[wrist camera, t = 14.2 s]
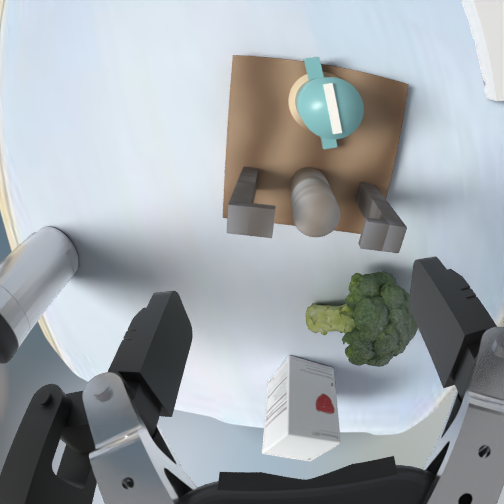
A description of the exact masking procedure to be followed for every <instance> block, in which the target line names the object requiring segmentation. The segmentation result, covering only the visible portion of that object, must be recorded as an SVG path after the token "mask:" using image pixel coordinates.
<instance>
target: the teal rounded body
mask: <svg viewBox="0 0 504 504" xmlns="http://www.w3.org/2000/svg"><path fill="white" fill-rule="evenodd" d="M304 64H305V68H306V72H307V76H308V80H309V81H307V82H305V83H304V84H303V85H301V87H300V88H299V89H298V91H297V93H296V97H295V106H296V110H297V112H298V114H299V115H300V117H301V118H302V120H303V122H304V123H305V125H306V126H307V127H308V128H309V129H310V130H311V131H312V132H313V133H314V134H316V135H318V136H320V138H321V143H322V148H323V149H330V148H336V147H337V142H336V139H341V138H344V137H347V136H349V135H350V134H352V133H353V132H354V131H355V130H356V129H357V128H358V127H359V125H360V123H361V121H362V118H363V114H364V106H363V101H362V98H361V96H360V94H359V92H358V91H357V90H356V89H355V87H354V86H352V85H351V84H350V83H348V82H347V81H345V80H343V79H340V78H335V77H325V78H324V76H323V71H322V67H321V63H320V59H319V57H313V58H307V59H304Z"/></svg>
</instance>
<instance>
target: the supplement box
mask: <svg viewBox="0 0 504 504" xmlns="http://www.w3.org/2000/svg"><path fill="white" fill-rule="evenodd" d="M339 443H340V430H339V419H338V408H337V397H336V387H335V377H334V368H332V367H329V366H325V365H322V364H318V363H314V362H311V361H308V360H304V359H301V358H297V357H294V356H291V355H289V356H288V357H287V358H286V360H285V361H284V362H283V363H282V365H281V366H280V367H279V368H278V370H277V371H276V372H275V373H274V374H273V376H272V377H271V378H270V379H269V381H268V387H267V400H266V413H265V425H264V439H263V447H262V453H263V454H268V455H273V456H279V457H284V458H289V459H298V460H305V461H312V460H313V459H315V458H317V457H318V456H320V455H322V454H323V453H325V452H326V451H328V450H330V449H332V448H334V447H335V446H337V445H338V444H339Z"/></svg>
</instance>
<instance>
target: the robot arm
mask: <svg viewBox="0 0 504 504" xmlns="http://www.w3.org/2000/svg"><path fill="white" fill-rule="evenodd" d="M78 266H79V260H78V255H77V252H76V249H75V247H74V245H73V244H72V242H71V241H70V239H69V238H68V237H67V236H66V235H65V234H64V233H62V232H61V231H59V230H58V229H56V228H53V227H44V228H42V229H40V230H39V231H38V232H37V233H33V234H31V235H30V236H29V237H28V238H27V239H26V240H24V241H23V242H22V243H21V244H20V245H19V246H18V247H17V248H15V249H14V250H13V251H12V252H11V253H10V254H9V255H8V256H7V257H6V258H5V259H4V260H3V261H1V263H0V363H7V362H8V361H10V360H11V358H12V357H13V355H14V354H15V352H16V351H17V349H18V348H19V346H20V345H21V344H22V342H23V341H24V339H25V338H26V336H27V335H28V334H29V332H30V331H31V329H32V328H33V327H34V325H35V324H36V322H37V321H38V320H39V318H40V317H41V316H42V314H43V313H44V312H45V310H46V309H47V308H48V306H49V305H50V304H51V303H52V301H53V300H54V299H55V297H56V296H57V295H58V294H59V292H60V291H61V290H62V289H63V287H64V286H65V285H66V284H67V283H68V281H69V280H70V279H71V278H72V276H73V275H74V274H75V273H76V271H77V269H78ZM409 302H410V309H411V313H412V315H413V317H414V320H415V322H416V324H417V326H418V328H419V330H420V333H421V335H422V337H423V339H424V342H425V344H426V346H427V349H428V351H429V353H430V356H431V358H432V360H433V363H434V365H435V368H436V370H437V373H438V375H439V378H440V380H441V383H442V385H443V388H446V387H449V386H452V385H455V386H456V388H457V390H458V391H457V393H456V395H455V397H454V400H453V403H452V406H451V409H450V412H449V414H448V417H447V419H446V422H445V425H444V427H443V429H442V432H441V434H440V436H439V439H438V441H437V443H436V445H435V447H434V449H433V451H432V453H431V454H430V456H429V458H428V459H427V462H426V463H425V465H424V467H423V469H420V468H415V467H412V466H404V465H395V460H394V456H392V457H387V458H382V459H378V460H373V461H368V462H363V463H356V464H351V465H349V466H346V467H344V468H341V469H339V470H336V471H333V472H330V473H327V474H324V475H322V476H318V477H316V478H312V479H308V480H302V479H295V478H289V477H283V476H278V475H272V474H267V473H262V472H259V473H257V472H256V473H255V472H254V473H253V472H252V473H244V472H239V473H238V472H220V475H219V481H217V482H212V483H209V484H205V485H203V486H201V487H197V486H196V485H195V483H194V482H193V481H192V479H191V478H190V477H189V476H188V475H187V473H186V472H185V471H184V469H183V468H182V466H181V465H180V463H179V461H178V460H177V458H176V456H175V454H174V453H173V451H172V449H171V447H170V446H169V444H168V442H167V440H166V438H165V436H164V435H163V433H162V431H161V429H160V427H159V426H158V424H157V423H158V419H159V416H165V417H172V414H173V410H174V407H175V403H176V399H177V395H178V391H179V387H180V383H181V379H182V376H183V372H184V368H185V364H186V361H187V357H188V353H189V350H190V346H191V342H192V327H191V323H190V321H189V318H188V316H187V314H186V311H185V309H184V306H183V304H182V301H181V299H180V296H179V294H178V293H177V292H176V291H169V292H159V293H154V294H153V296H152V298H151V300H150V302H149V304H148V306H147V308H143V309H142V310H141V311H140V312H139V313H138V314H137V315H136V316H135V317H134V318H133V320H132V322H131V324H130V326H129V328H128V331H127V332H126V334H125V336H124V340H122V342H121V344H120V346H119V348H118V351H117V353H116V355H115V357H114V359H113V361H112V364H111V366H110V368H109V370H108V372H107V373H102V374H99V375H97V376H95V377H94V378H92V379H91V380H90V381H89V382H88V383H87V385H86V386H85V388H84V390H83V391H79V392H74V393H69V394H65V393H64V392H63V391H62V389H61V388H60V387H59V386H57V385H55V384H48V385H45V386H43V387H42V388H40V389H39V390H38V391H37V392H36V393H35V394H34V396H33V398H32V400H31V402H30V404H29V406H28V408H27V410H26V413H25V415H24V417H23V419H22V422H21V424H20V426H19V428H18V431H17V434H16V436H15V438H14V440H13V443H12V445H11V448H10V451H9V453H8V456H7V458H6V461H5V464H4V467H3V469H2V472H1V475H0V504H92V501H93V497H94V492H95V488H96V484H98V487H99V490H100V492H101V495H102V498H103V500H104V503H105V504H497V502H498V499H499V496H500V494H501V491H502V488H503V486H504V327H497V326H496V324H495V323H494V321H493V319H492V318H491V316H490V315H489V313H488V312H487V310H486V309H485V307H484V306H483V305H482V303H481V302H480V300H479V299H478V297H476V295H475V293H474V292H473V290H472V289H470V286H469V285H468V283H467V282H466V281H465V279H464V278H463V277H462V276H461V275H459V274H458V273H456V272H455V271H453V270H452V269H448V270H447V269H446V268H445V267H444V265H443V264H442V263H441V261H440V260H439V259H438V258H437V257H430V258H424V259H418V260H415V262H414V265H413V273H412V282H411V289H410V297H409ZM60 439H61V440H62V441H63V442H65V443H66V447H65V450H64V453H63V456H62V459H61V463H60V466H59V469H58V472H57V475H55V474H54V472H53V470H52V461H53V458H54V455H55V452H56V449H57V446H58V443H59V440H60Z"/></svg>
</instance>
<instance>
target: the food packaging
mask: <svg viewBox="0 0 504 504" xmlns="http://www.w3.org/2000/svg"><path fill="white" fill-rule="evenodd" d="M462 5H463V8H464V11H465V14H466V17H467V19H468V21H469V26H470V29H471V33H472V36H473V39H474V41H475V44H476V46H475V47H476V51H477V56H478V60H479V64H480V69H481V74H482V79H483V80H484V81H485V83H486V85H485V87H484V89H485V95H486V97H487V98H488V99H490V100H494V101H504V0H462Z"/></svg>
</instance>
